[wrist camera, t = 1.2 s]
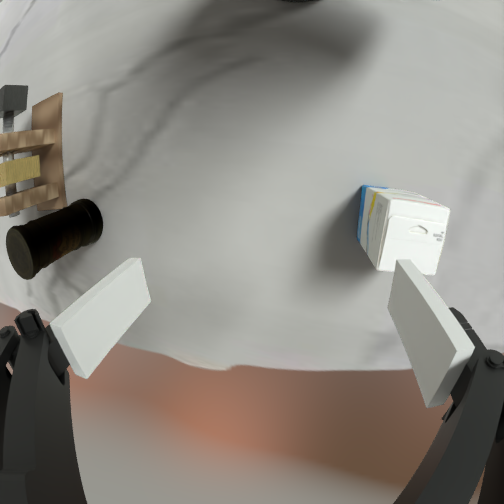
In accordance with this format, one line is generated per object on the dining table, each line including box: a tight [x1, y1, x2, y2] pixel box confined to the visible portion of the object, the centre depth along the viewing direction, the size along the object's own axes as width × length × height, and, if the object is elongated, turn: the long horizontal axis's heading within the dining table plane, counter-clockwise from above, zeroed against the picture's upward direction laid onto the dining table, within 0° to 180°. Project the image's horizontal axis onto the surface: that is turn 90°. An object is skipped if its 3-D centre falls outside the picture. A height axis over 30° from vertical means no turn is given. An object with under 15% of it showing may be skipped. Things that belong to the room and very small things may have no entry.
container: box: [6, 199, 103, 280], centre depth 37 cm, size 9×9×18 cm
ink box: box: [357, 185, 450, 275], centre depth 31 cm, size 9×8×12 cm
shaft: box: [0, 85, 28, 217], centre depth 30 cm, size 24×5×6 cm, turn 1°
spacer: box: [0, 155, 40, 187], centre depth 33 cm, size 4×8×8 cm, turn 91°
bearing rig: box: [0, 93, 67, 216], centre depth 34 cm, size 24×10×15 cm, turn 1°
